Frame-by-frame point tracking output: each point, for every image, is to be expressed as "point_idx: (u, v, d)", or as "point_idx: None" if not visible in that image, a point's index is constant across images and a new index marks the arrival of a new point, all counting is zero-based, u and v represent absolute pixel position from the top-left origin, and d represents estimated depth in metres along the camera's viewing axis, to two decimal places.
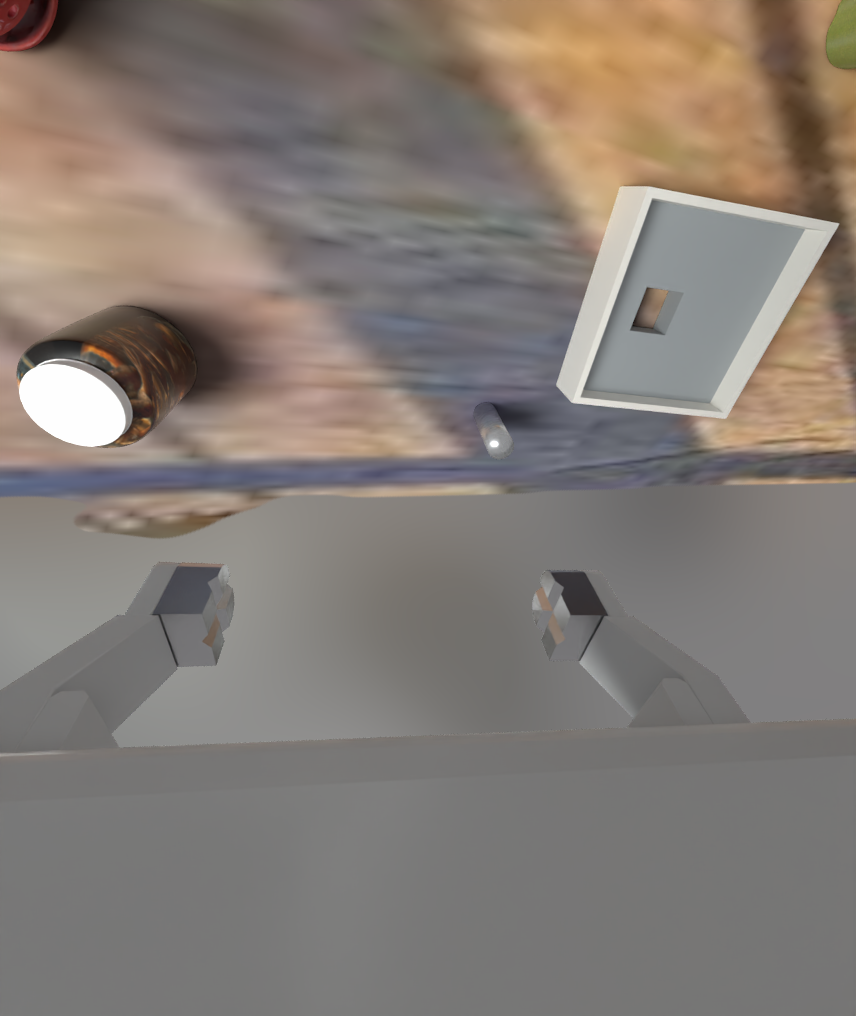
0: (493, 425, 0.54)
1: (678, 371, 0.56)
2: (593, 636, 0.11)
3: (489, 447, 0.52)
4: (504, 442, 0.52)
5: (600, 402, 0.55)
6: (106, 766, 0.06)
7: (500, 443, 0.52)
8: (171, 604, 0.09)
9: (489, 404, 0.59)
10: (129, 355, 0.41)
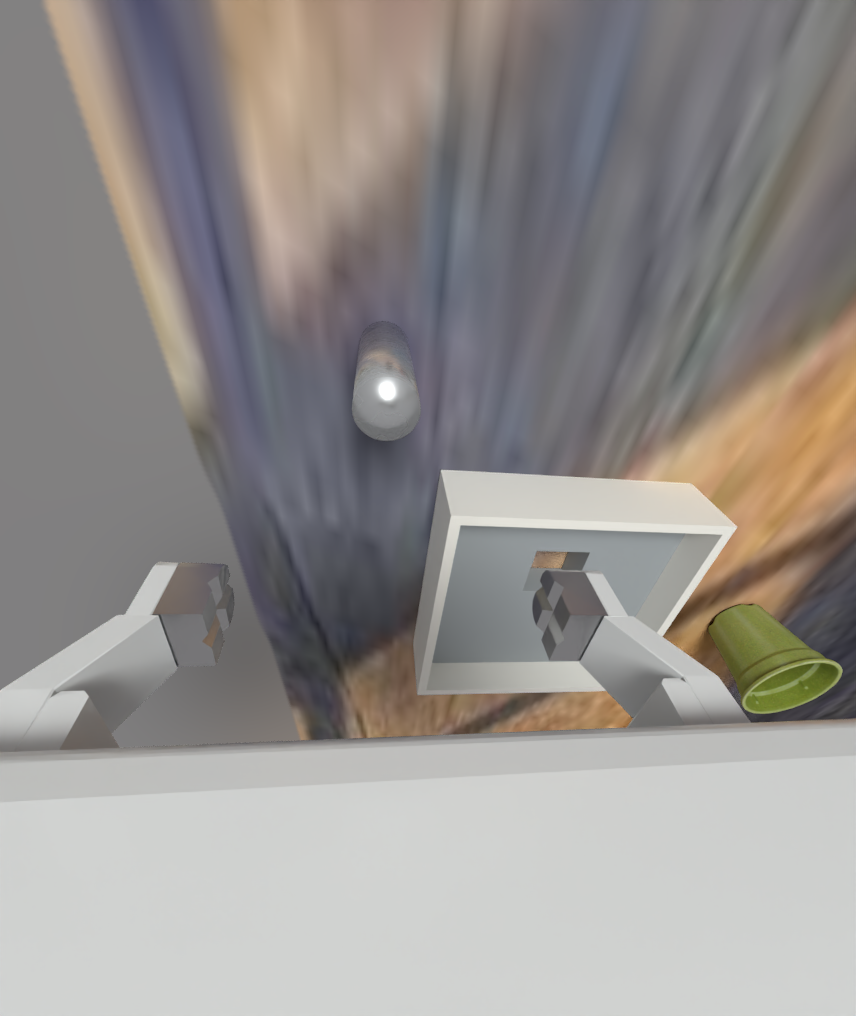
0: (414, 377, 0.23)
1: (470, 619, 0.41)
2: (593, 636, 0.11)
3: (386, 380, 0.19)
4: (401, 416, 0.21)
5: (449, 556, 0.32)
6: (106, 766, 0.06)
7: (398, 407, 0.20)
8: (171, 604, 0.09)
9: None
10: None
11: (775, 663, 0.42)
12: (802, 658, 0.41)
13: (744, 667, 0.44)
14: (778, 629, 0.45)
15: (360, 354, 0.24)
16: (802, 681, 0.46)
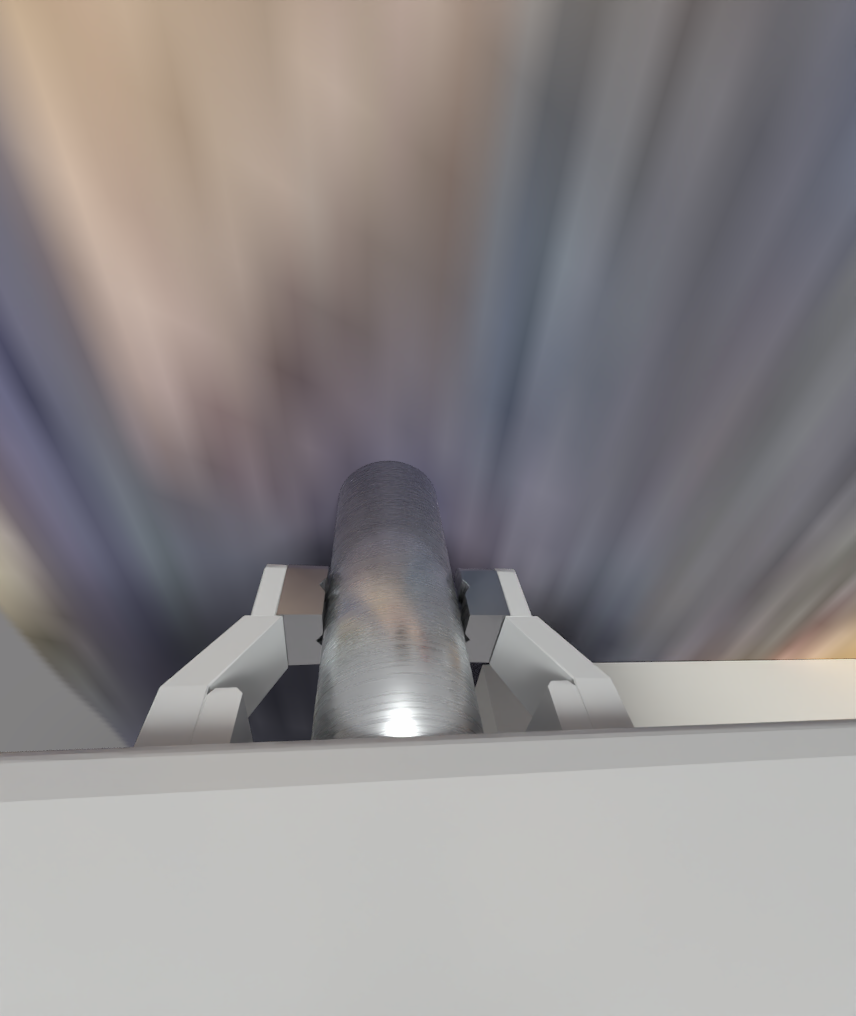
0: (474, 689, 0.08)
1: None
2: (498, 636, 0.10)
3: None
4: None
5: None
6: (106, 766, 0.06)
7: None
8: (291, 605, 0.09)
9: None
10: None
11: None
12: None
13: None
14: None
15: (334, 583, 0.10)
16: None
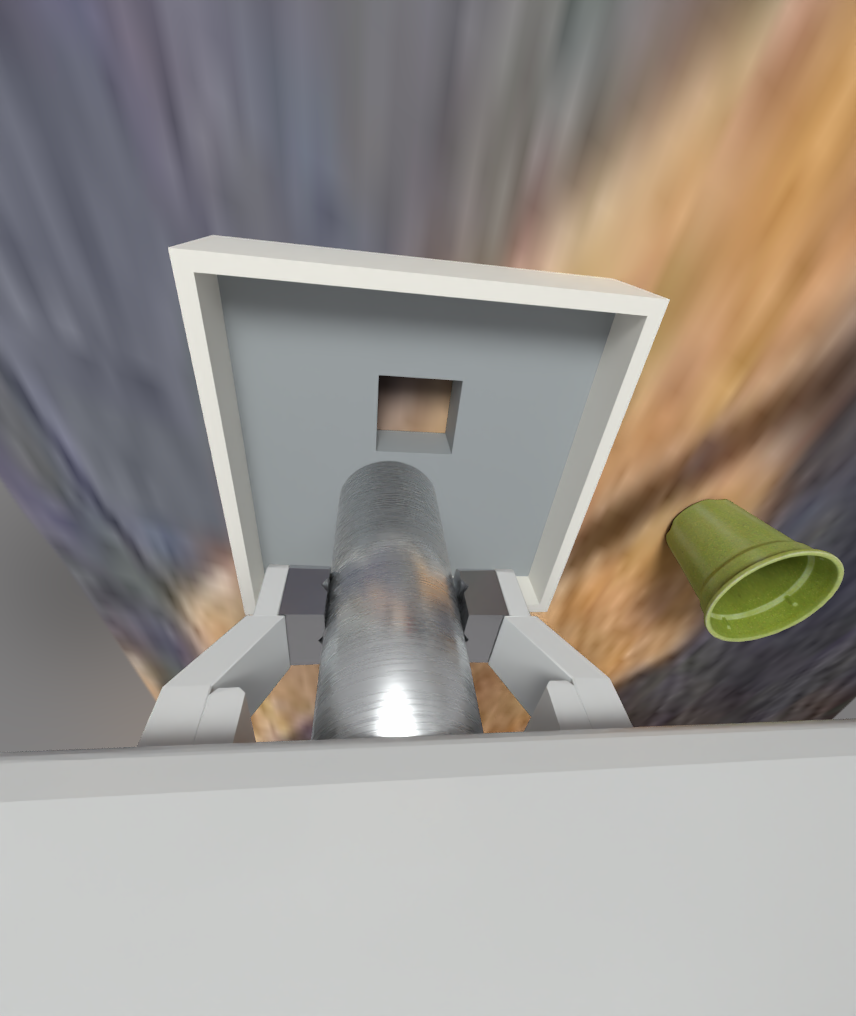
0: (473, 687, 0.09)
1: (312, 502, 0.29)
2: (497, 636, 0.10)
3: None
4: None
5: (198, 344, 0.20)
6: (106, 766, 0.06)
7: None
8: (293, 605, 0.09)
9: None
10: None
11: (749, 560, 0.30)
12: (786, 551, 0.29)
13: (708, 574, 0.32)
14: (754, 522, 0.32)
15: (335, 582, 0.10)
16: (789, 597, 0.34)
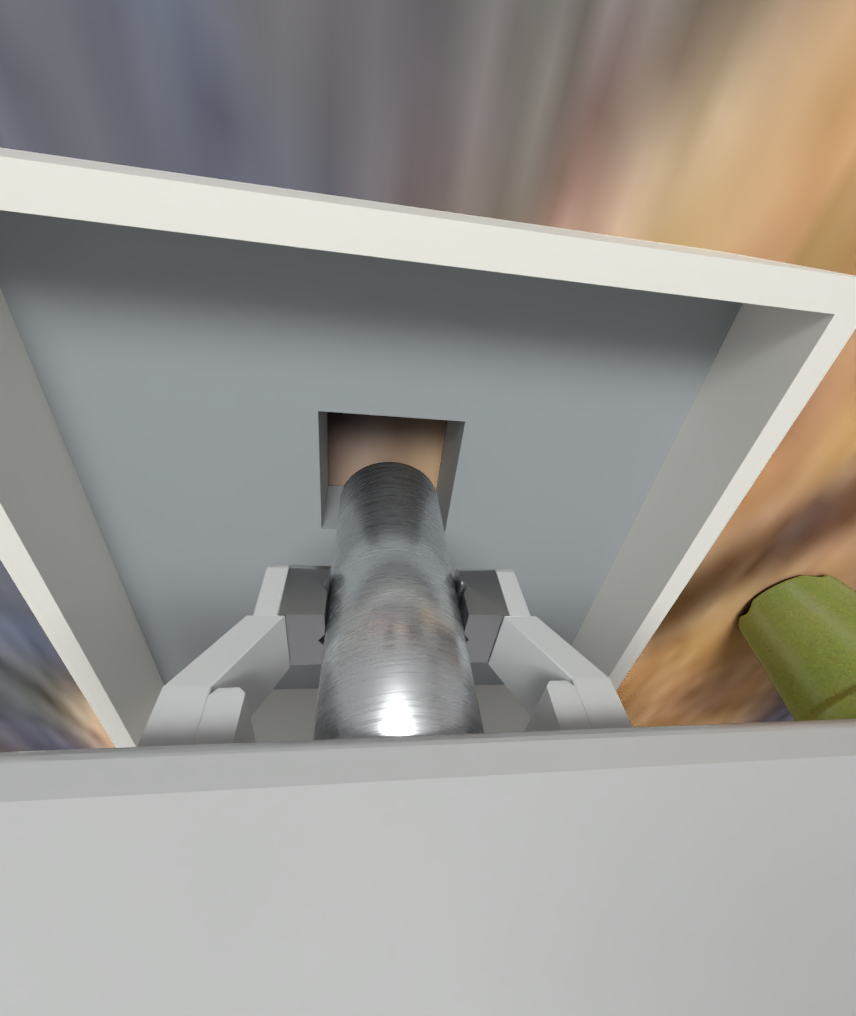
0: (474, 689, 0.09)
1: (225, 600, 0.18)
2: (497, 636, 0.10)
3: None
4: None
5: None
6: (106, 766, 0.06)
7: None
8: (293, 605, 0.09)
9: None
10: None
11: None
12: None
13: (821, 699, 0.22)
14: None
15: (336, 583, 0.10)
16: None
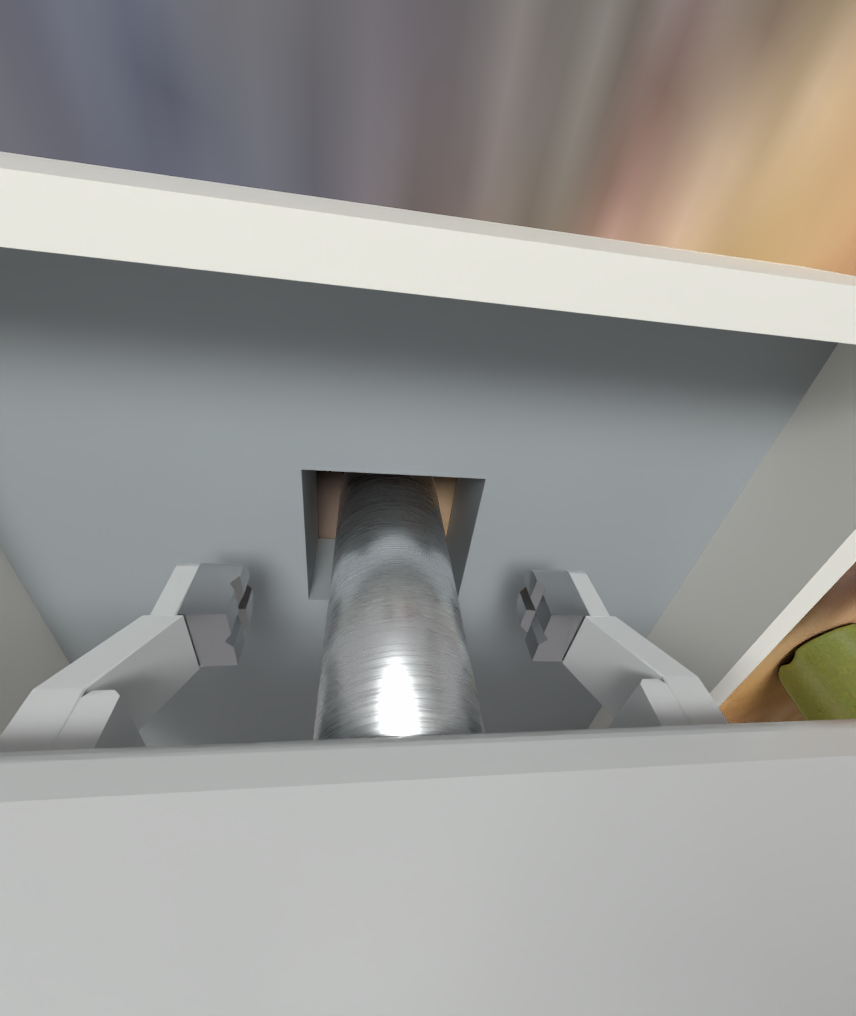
0: (467, 647, 0.09)
1: (195, 677, 0.15)
2: (575, 636, 0.10)
3: None
4: None
5: None
6: (106, 766, 0.06)
7: None
8: (195, 604, 0.09)
9: None
10: None
11: None
12: None
13: None
14: None
15: (338, 555, 0.11)
16: None
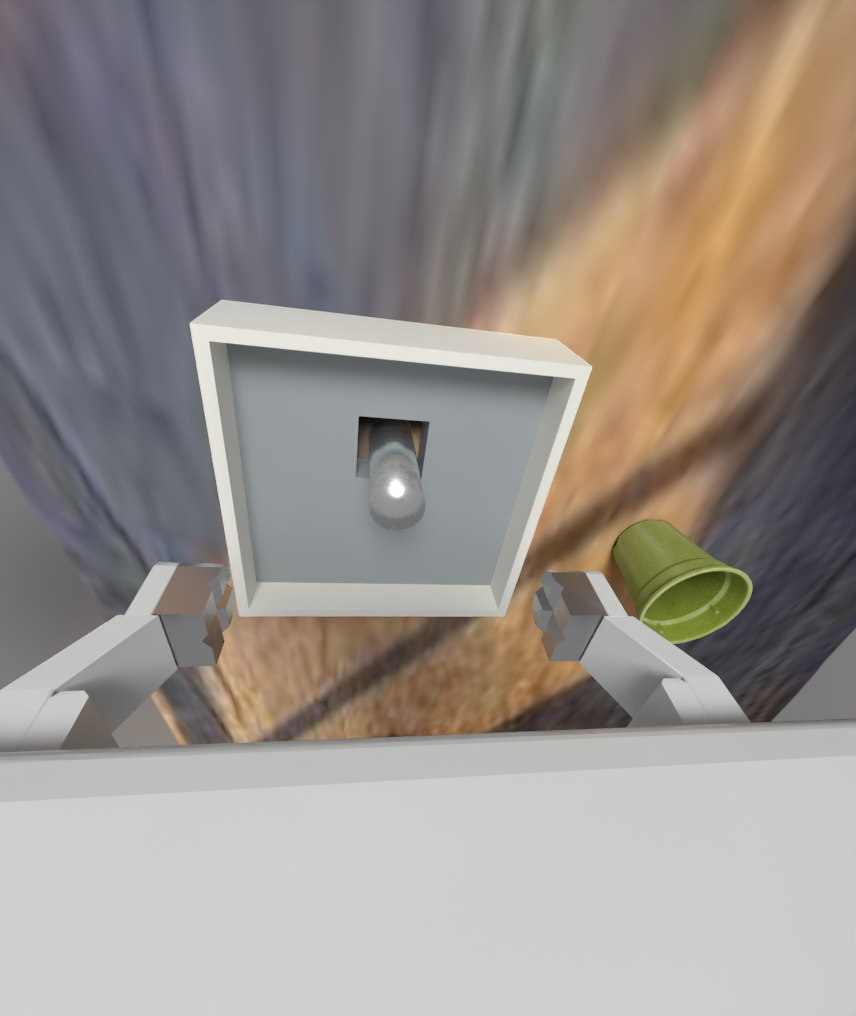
0: None
1: (300, 519, 0.33)
2: (593, 636, 0.11)
3: (398, 487, 0.24)
4: (409, 512, 0.25)
5: (209, 395, 0.24)
6: (106, 766, 0.06)
7: (407, 506, 0.25)
8: (170, 604, 0.09)
9: None
10: None
11: (673, 574, 0.35)
12: (703, 567, 0.34)
13: (642, 586, 0.37)
14: (682, 541, 0.38)
15: (372, 449, 0.29)
16: (713, 606, 0.39)
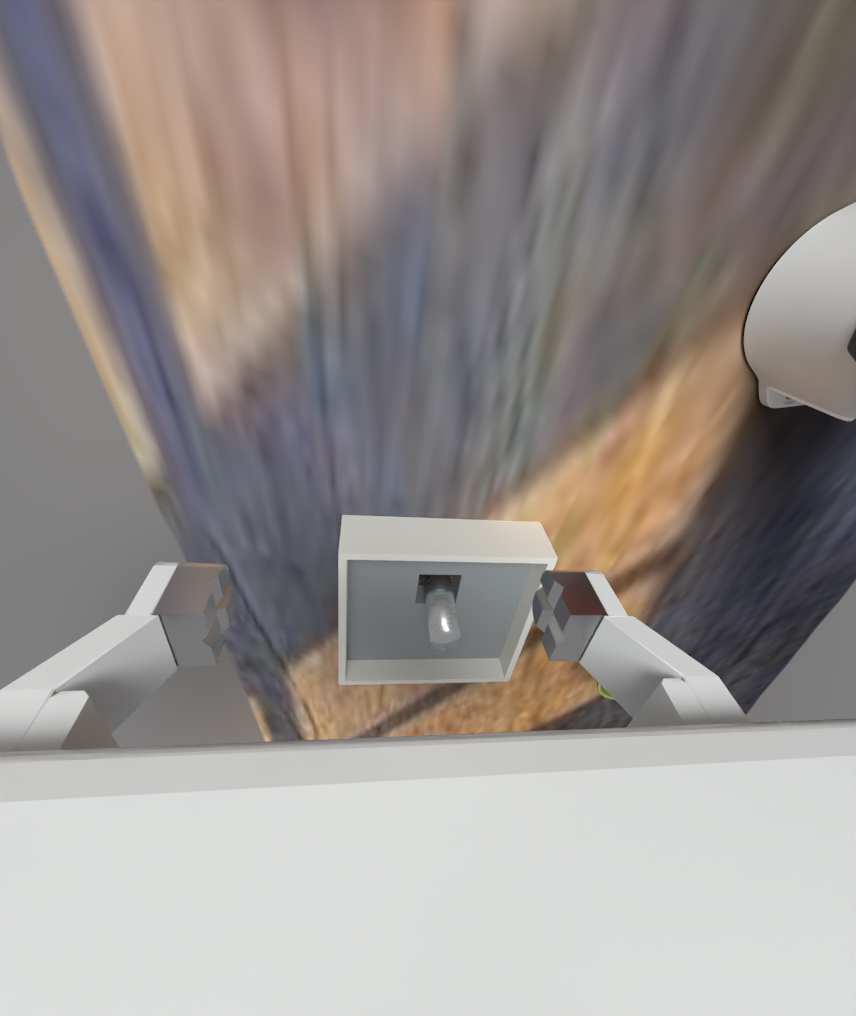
0: (456, 613, 0.46)
1: (378, 626, 0.52)
2: (593, 636, 0.11)
3: (447, 631, 0.43)
4: (452, 642, 0.44)
5: (342, 581, 0.43)
6: (106, 766, 0.06)
7: (451, 639, 0.44)
8: (171, 604, 0.09)
9: None
10: None
11: None
12: None
13: None
14: None
15: (427, 593, 0.48)
16: None
